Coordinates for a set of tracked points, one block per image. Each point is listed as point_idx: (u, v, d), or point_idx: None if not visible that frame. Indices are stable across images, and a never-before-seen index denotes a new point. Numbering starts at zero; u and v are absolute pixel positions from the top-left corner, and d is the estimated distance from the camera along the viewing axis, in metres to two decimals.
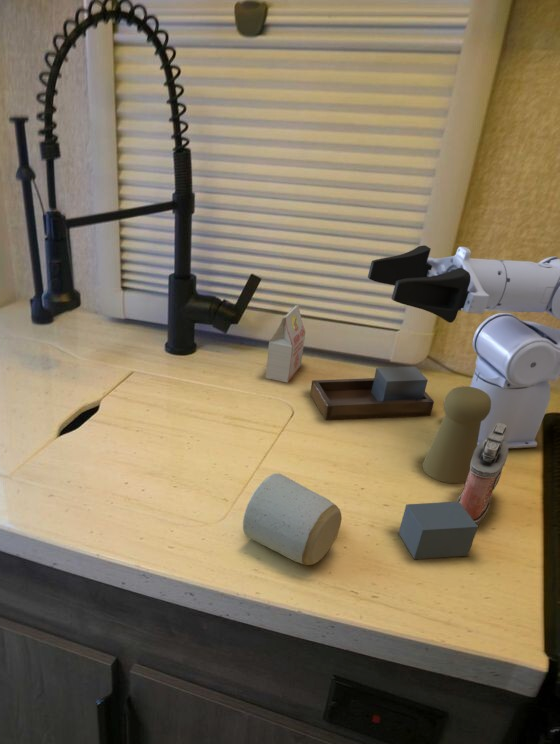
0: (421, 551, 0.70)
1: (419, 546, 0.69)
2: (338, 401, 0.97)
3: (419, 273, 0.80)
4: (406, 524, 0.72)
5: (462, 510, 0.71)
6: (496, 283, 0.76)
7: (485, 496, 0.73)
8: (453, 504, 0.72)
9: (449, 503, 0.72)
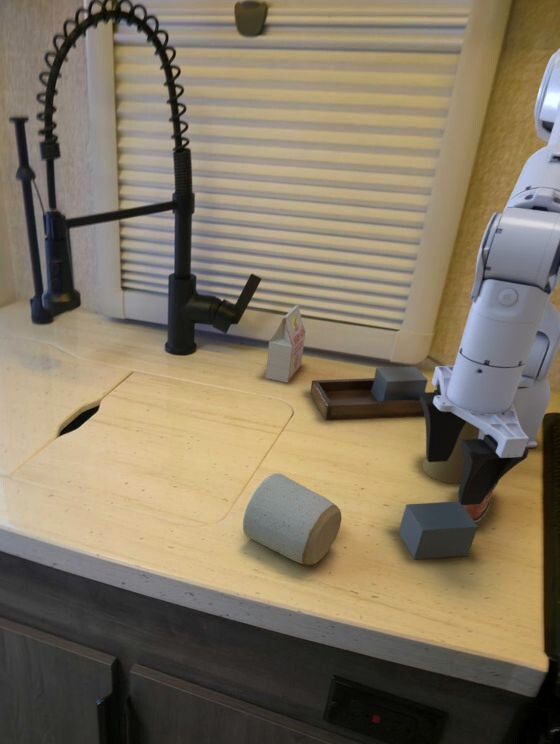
0: (421, 551, 0.70)
1: (419, 546, 0.69)
2: (338, 401, 0.97)
3: None
4: (406, 524, 0.72)
5: (462, 510, 0.71)
6: (492, 378, 0.58)
7: None
8: (453, 504, 0.72)
9: (449, 503, 0.72)
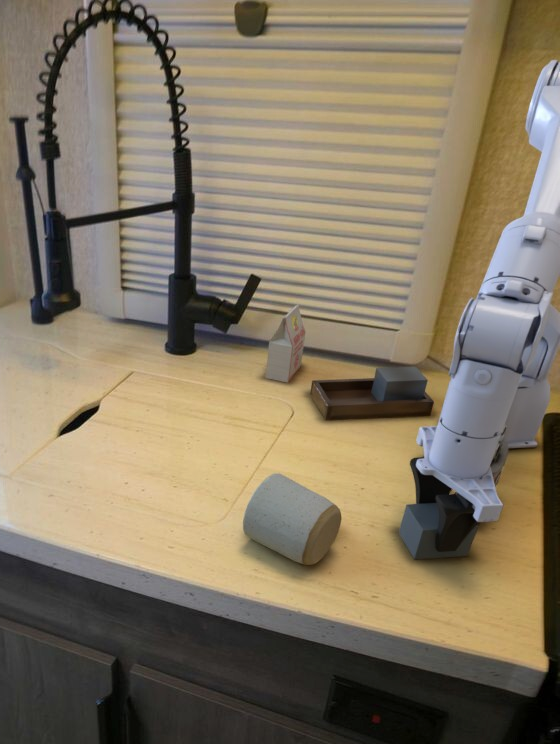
0: (422, 551, 0.70)
1: (419, 546, 0.69)
2: (338, 401, 0.97)
3: None
4: (406, 524, 0.72)
5: None
6: (470, 447, 0.62)
7: None
8: None
9: None
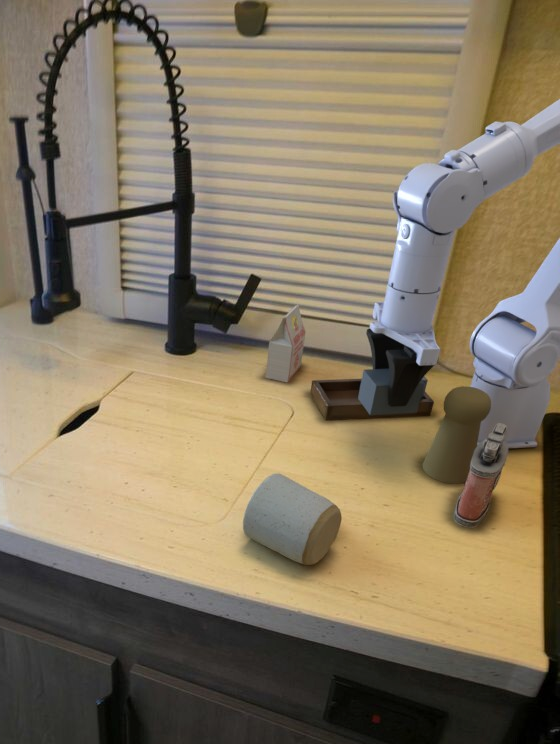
0: (376, 407, 0.81)
1: (374, 402, 0.80)
2: (338, 401, 0.97)
3: (393, 340, 0.81)
4: (363, 387, 0.82)
5: None
6: (413, 303, 0.73)
7: (485, 496, 0.73)
8: None
9: None
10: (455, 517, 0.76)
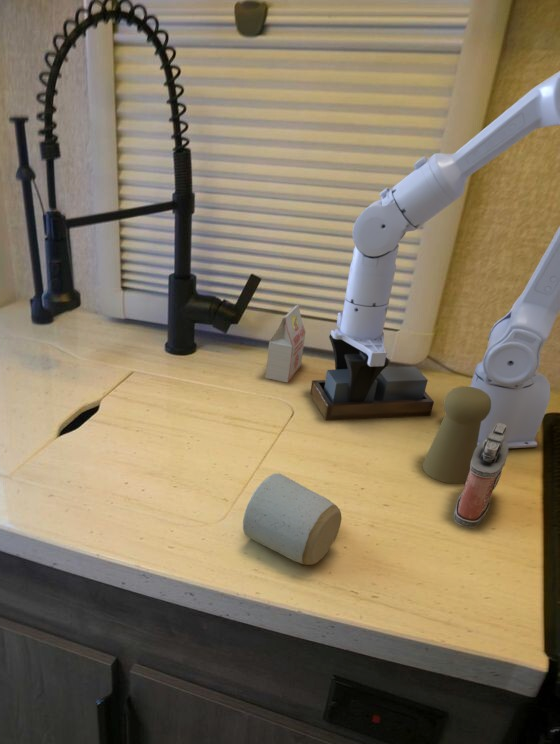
0: (337, 401, 0.95)
1: (334, 397, 0.94)
2: None
3: None
4: (327, 385, 0.97)
5: None
6: (365, 314, 0.87)
7: (485, 496, 0.73)
8: None
9: None
10: (455, 517, 0.76)
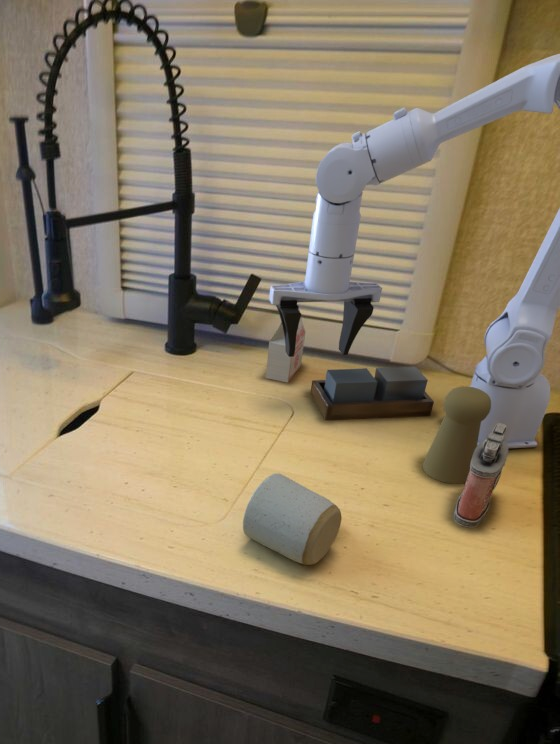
0: (337, 401, 0.95)
1: (334, 397, 0.94)
2: None
3: (349, 308, 0.89)
4: (327, 385, 0.97)
5: (368, 373, 0.96)
6: None
7: (485, 496, 0.73)
8: (362, 369, 0.97)
9: (359, 369, 0.97)
10: (455, 517, 0.76)
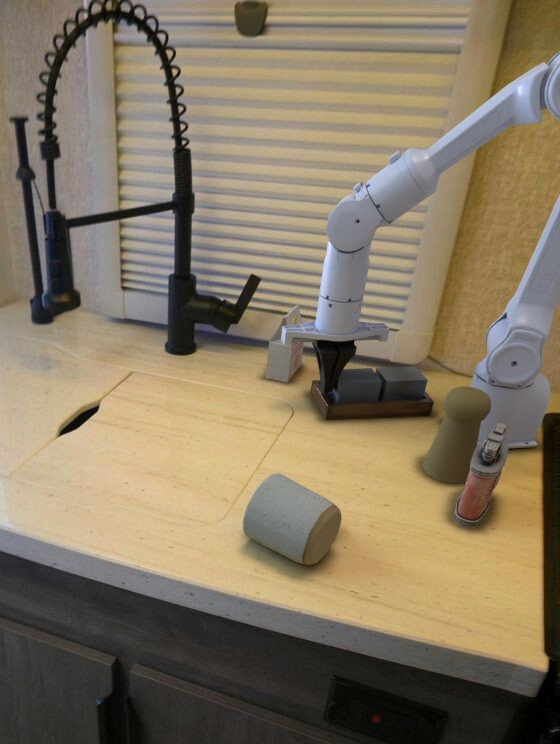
0: (341, 401, 0.95)
1: (339, 397, 0.94)
2: None
3: (334, 348, 0.92)
4: None
5: (372, 372, 0.96)
6: (319, 300, 0.89)
7: (485, 496, 0.73)
8: (366, 369, 0.97)
9: (363, 369, 0.97)
10: (455, 517, 0.76)
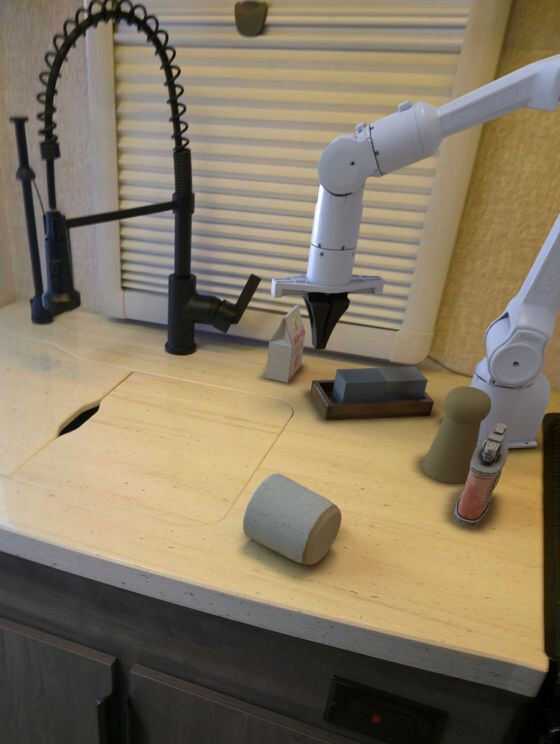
0: (346, 401, 0.95)
1: (344, 397, 0.94)
2: None
3: (326, 302, 0.88)
4: (336, 384, 0.97)
5: (377, 372, 0.96)
6: None
7: (485, 496, 0.73)
8: (371, 369, 0.97)
9: (368, 368, 0.97)
10: (455, 517, 0.76)
